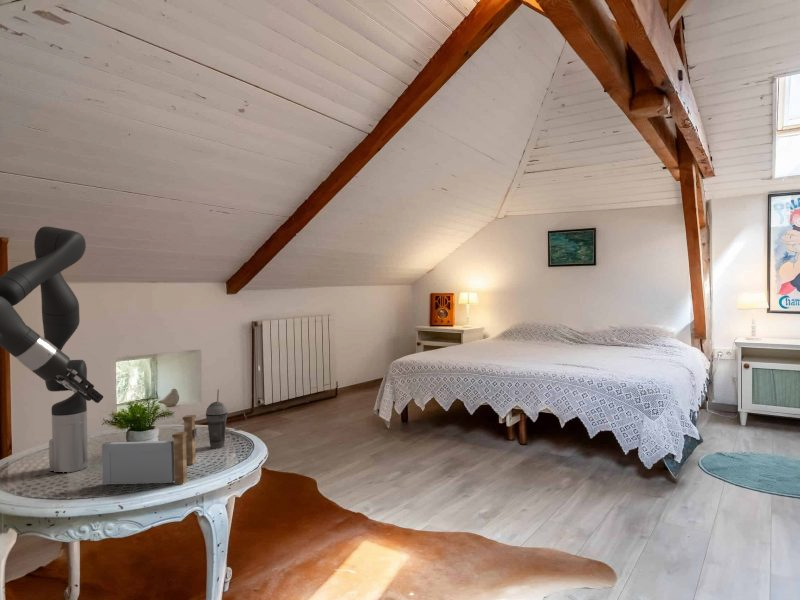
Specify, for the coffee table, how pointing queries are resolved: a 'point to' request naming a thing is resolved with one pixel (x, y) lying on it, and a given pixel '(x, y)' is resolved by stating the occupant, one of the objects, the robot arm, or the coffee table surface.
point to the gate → (138, 462)
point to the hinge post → (180, 457)
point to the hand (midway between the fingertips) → (95, 398)
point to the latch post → (190, 438)
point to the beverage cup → (216, 423)
